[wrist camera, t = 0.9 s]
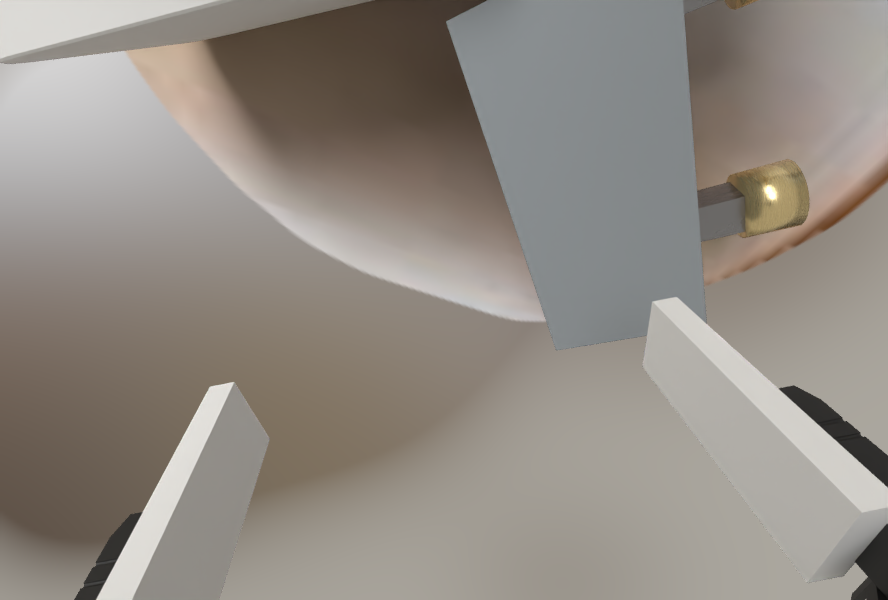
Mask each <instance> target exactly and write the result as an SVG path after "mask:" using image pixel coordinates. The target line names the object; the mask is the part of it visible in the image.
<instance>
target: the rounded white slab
mask: <svg viewBox="0 0 888 600" xmlns="http://www.w3.org/2000/svg"><path fill="white" fill-rule="evenodd" d="M369 1H373V0H0V63H4V64H16V63H26V62H36V61H44V60H52V59H60V58H68V57H76V56H84V55H93V54H100V53H109V52H117V51H125V50H134V49H142V48H150V47H158V46H166V45H174V44H182V43H189V42H196V41H201V40H207V39H212V38H216V37H221V36H225V35H230V34H234V33H238V32H242V31H247V30H251V29H255V28H259V27H263V26H268V25H272V24H276V23H280V22H285V21H289V20H293V19H297V18H301V17H306V16H310V15H314V14H318V13H322V12H327V11H331V10H335V9H339V8H344V7H348V6H352V5H356V4H360V3H365V2H369Z"/></svg>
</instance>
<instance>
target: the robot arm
mask: <svg viewBox="0 0 888 600" xmlns="http://www.w3.org/2000/svg"><path fill="white" fill-rule="evenodd" d="M642 367H643V368H644V370H645V371H646V372H647V373H648V375H649V376H650V378H651V379H652V380H653V382H654V383H655V384H656V385H657V387H658V388H659V389H660V391H661V392H662V393H663V395H664V396H665V397H666V398H667V400H668V401H669V403H671V405H672V406H673V408H674V409H675V410H676V412H677V413H678V414H679V416H680V417H681V418H682V420H683V421H684V422H685V424H686V425H687V426H688V427H689V429H690V430H691V431H692V433H693V434H694V435H695V436H696V438H697V439H698V440H699V442H700V443H701V444H702V446H703V447H704V448H705V450H706V451H707V452H708V454H709V455H710V456H711V458H712V459H713V460H714V461H715V463H716V464H717V465H718V467H719V468H720V469H721V471H722V472H723V473H724V475H725V476H726V477H727V479H728V480H729V481H730V483H731V484H732V485H733V487H734V488H735V489H736V490H737V492H738V493H739V494H740V496H741V497H742V498H743V500H744V501H745V502H746V503H747V505H748V506H749V507H750V509H751V510H752V511H753V513H754V514H755V515H756V517H757V518H758V519H759V521H760V522H761V523H762V525H763V526H764V527H765V528H766V530H767V531H768V532H769V534H770V535H771V536H772V538H773V539H774V540H775V541H776V543H777V544H778V545H779V547H780V548H781V549H782V551H783V552H784V553H785V555H786V556H787V557H788V559H789V560H790V561H791V563H792V564H793V565H794V566H795V568H796V569H797V570H798V572H799V573H800V574H801V576H802V577H803V578H804V580H805V581H806V582H807V583H811V582H816V581H821V580H826V579H832V578H837V577H842V576H844V575H845V574H846V573H847V572H848V570H849V569H850V568H851V567H852V566H853V565H854V563H855V562H856V563H857V565H858V566H859V567H860V568H861V569H862V570H863V571H864V572H865V574H866V575H867V576H868V578H867V579H866V580H865V581H864V582H863V583H862V584H861V585H860V586H859V587H858V588H857V589H856V590H855V591H854V592H853V593H852V597H851V600H865V599H867V600H888V455H886V454H885V453H884V452H883V451H882V450H880V449H879V448H878V447H877V446H876V445H874V444H873V443H872V442H871V441H869V439H867V438H866V437H862V436H861V435H860V432H859V431H858V430H857V429H855V428H854V427H853V426H852V425H851V424H849V423H848V422H847V421H843V419H842V417H841V416H840V415H839V414H838V413H836V412H835V411H834V410H833V409H832V408H830V407H829V406H828V405H827V404H826V403H824V402H823V401H822V400H821V399H819V398H817V397H815V396H813V395H811V394H809V393H808V392H805V391H804V390H802V389H800V388H798V387H796V386H790V387H784V388H779V389H778V388H777V387H776V386H775V385H774V384H773V383H771V382H770V381H769V380H768V379H767V378H766V377H765V376H764V375H763V374H761V373H760V372H759V371H758V370H757V369H756V368H755V367H754V366H753V365H751V364H750V363H749V362H748V361H747V360H746V359H745V358H744V357H743V356H741V355H740V354H739V353H738V352H737V351H736V350H735V349H734V348H732V346H730V345H729V344H728V343H727V342H726V341H725V340H724V339H723V338H722V337H721V336H719V335H718V334H717V333H716V332H715V331H714V330H713V329H712V328H711V327H709V326H708V325H707V324H706V323H705V322H704V321H703V320H702V319H701V318H700V317H698V316H697V315H696V314H695V313H694V312H693V311H692V310H691V309H690V308H688V307H687V306H686V305H685V304H684V303H683V302H682V301H681V300H680V299H678V298H677V297H673V298H668V299H663V300H658V301H652V306H651V313H650V320H649V326H648V333H647V339H646V346H645V353H644V359H643V366H642ZM269 439H270V438H269V437H268V435H267V434H266V432H265V431H264V429H263V427H262V426H261V424H260V422H259V421H258V419H257V418H256V416H255V414H254V413H253V411H252V410H251V408H250V407H249V405H248V403H247V402H246V400H245V398H244V397H243V395H242V394H241V392H240V390H239V389H238V388H237V386H236V384H235V382H233V383H227V384H222V385H217V386H212V387H210V388H209V390H208V392H207V393H206V395H205V397H204V399H203V401H202V403H201V404H200V407H199V408H198V410H197V412H196V414H195V416H194V418H193V420H192V421H191V423H190V425H189V427H188V429H187V431H186V433H185V435H184V436H183V438H182V440H181V442H180V444H179V446H178V448H177V450H176V451H175V453H174V455H173V457H172V459H171V461H170V462H169V465H168V466H167V468H166V470H165V472H164V474H163V476H162V477H161V479H160V481H159V483H158V485H157V487H156V489H155V491H154V493H153V494H152V496H151V498H150V500H149V502H148V504H147V505H146V507H145V509H144V511H143V512H141V513H135V514H131V515H130V516H129V517H128V518H127V519H126V520H125V521H124V522H123V523H122V525H121V526H120V527H119V528H118V529H117V530H116V531H115V532H114V534H113V535H112V536H111V537H110V538H109V540H108V542H107V544H106V545H105V547H104V549H103V551H102V552H101V555H100V556H99V558H98V559H97V561H96V566H95V567H93V568H92V570H91V572H90V573H89V575H88V577H87V579H86V580H85V582H84V587H83V588H82V589H80V591H79V592H78V594H77V596H76V598H75V599H74V600H219V598H220V595H221V592H222V589H223V586H224V583H225V579H226V576H227V573H228V569H229V567H230V563H231V560H232V557H233V554H234V551H235V548H236V544H237V541H238V538H239V535H240V532H241V528H242V525H243V522H244V518H245V516H246V512H247V509H248V506H249V503H250V500H251V496H252V493H253V490H254V487H255V484H256V481H257V478H258V474H259V471H260V468H261V465H262V461H263V458H264V455H265V452H266V449H267V445H268V443H269Z"/></svg>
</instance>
